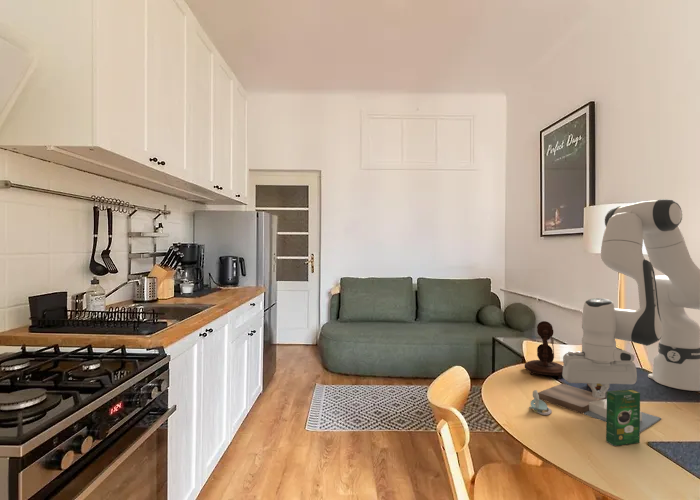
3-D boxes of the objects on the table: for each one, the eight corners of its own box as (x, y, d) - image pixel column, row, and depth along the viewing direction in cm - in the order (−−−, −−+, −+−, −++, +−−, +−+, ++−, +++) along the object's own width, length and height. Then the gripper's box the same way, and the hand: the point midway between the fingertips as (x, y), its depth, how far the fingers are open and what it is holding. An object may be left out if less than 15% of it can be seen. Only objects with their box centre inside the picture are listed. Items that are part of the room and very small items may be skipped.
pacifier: (552, 409, 118) (531, 404, 121) (553, 389, 118) (531, 385, 121) (550, 418, 112) (528, 413, 115) (551, 397, 112) (528, 392, 115)
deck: (562, 389, 134) (562, 383, 134) (606, 402, 123) (606, 396, 122) (537, 398, 126) (537, 392, 126) (582, 413, 114) (582, 407, 114)
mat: (607, 402, 122) (607, 401, 122) (661, 419, 111) (661, 417, 111) (583, 414, 114) (583, 413, 114) (639, 433, 102) (639, 431, 102)
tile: (608, 406, 118) (608, 398, 118) (641, 420, 109) (641, 411, 109) (588, 410, 116) (588, 402, 116) (621, 424, 106) (621, 415, 106)
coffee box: (630, 437, 100) (630, 387, 100) (641, 443, 97) (641, 391, 97) (605, 441, 98) (605, 390, 98) (615, 447, 95) (615, 394, 95)
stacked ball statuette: (567, 381, 142) (567, 327, 142) (524, 376, 148) (524, 324, 148) (564, 370, 155) (564, 320, 155) (524, 365, 162) (524, 318, 161)
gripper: (568, 354, 115) (568, 400, 115) (640, 355, 113) (640, 402, 114) (558, 348, 122) (558, 392, 122) (626, 350, 120) (626, 394, 120)
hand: (598, 397), depth 118 cm, fingers closed
